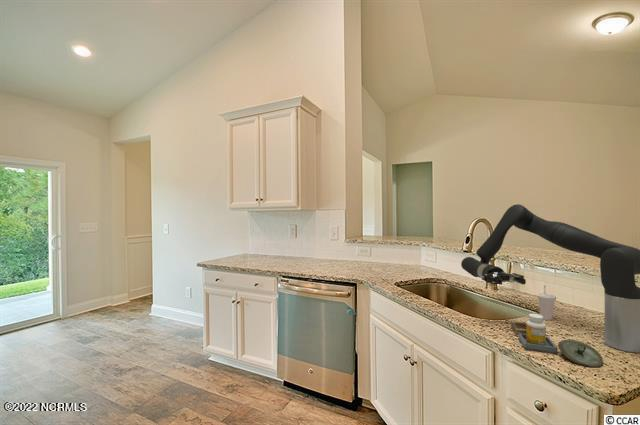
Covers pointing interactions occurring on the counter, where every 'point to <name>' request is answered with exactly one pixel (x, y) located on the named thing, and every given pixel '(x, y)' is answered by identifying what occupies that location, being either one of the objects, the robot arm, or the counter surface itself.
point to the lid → (580, 353)
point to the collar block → (518, 325)
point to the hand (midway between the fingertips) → (512, 281)
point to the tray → (548, 348)
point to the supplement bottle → (536, 330)
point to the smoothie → (546, 304)
